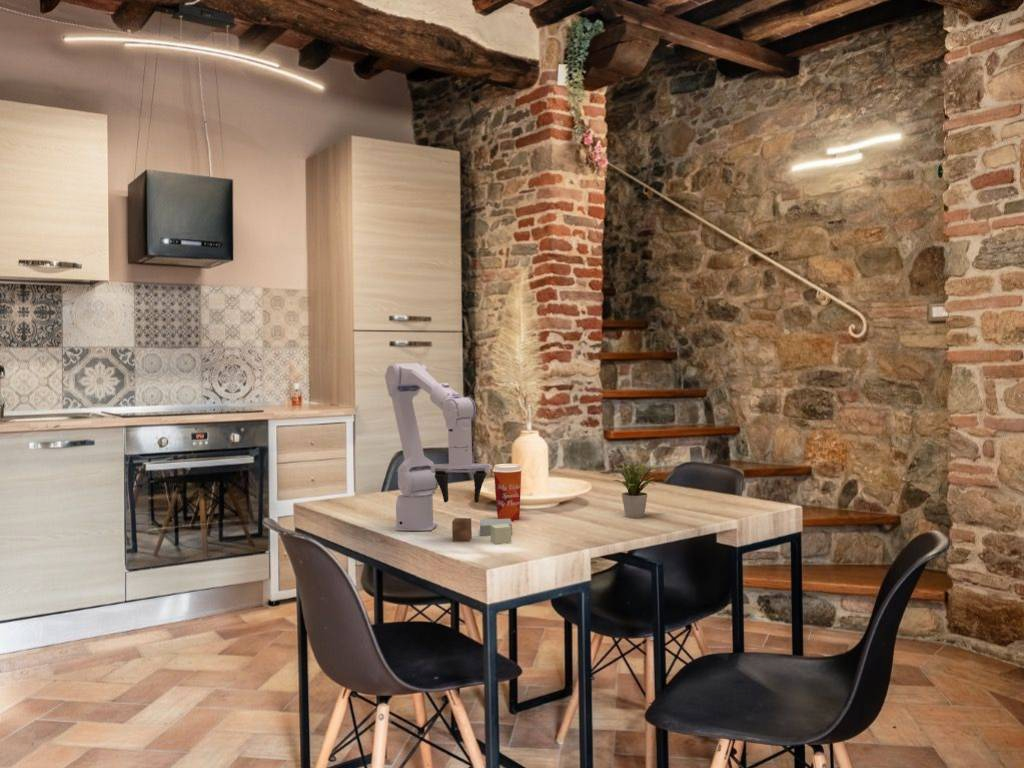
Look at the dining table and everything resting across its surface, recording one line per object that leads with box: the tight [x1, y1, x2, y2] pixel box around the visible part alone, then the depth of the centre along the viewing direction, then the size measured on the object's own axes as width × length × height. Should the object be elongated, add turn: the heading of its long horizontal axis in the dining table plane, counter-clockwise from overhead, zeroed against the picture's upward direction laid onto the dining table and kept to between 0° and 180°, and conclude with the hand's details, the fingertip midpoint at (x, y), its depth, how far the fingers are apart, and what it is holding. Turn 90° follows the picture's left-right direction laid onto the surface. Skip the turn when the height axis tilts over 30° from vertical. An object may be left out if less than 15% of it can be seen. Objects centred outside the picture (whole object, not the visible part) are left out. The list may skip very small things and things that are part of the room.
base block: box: [479, 518, 513, 537], centre depth 211 cm, size 8×8×3 cm
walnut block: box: [451, 517, 473, 543], centre depth 203 cm, size 4×4×5 cm
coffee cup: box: [492, 463, 524, 522], centre depth 227 cm, size 8×8×15 cm
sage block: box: [490, 524, 512, 545], centre depth 200 cm, size 4×4×4 cm
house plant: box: [610, 457, 661, 519], centre depth 227 cm, size 14×14×16 cm
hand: (461, 501), depth 203 cm, fingers open, 7 cm apart
